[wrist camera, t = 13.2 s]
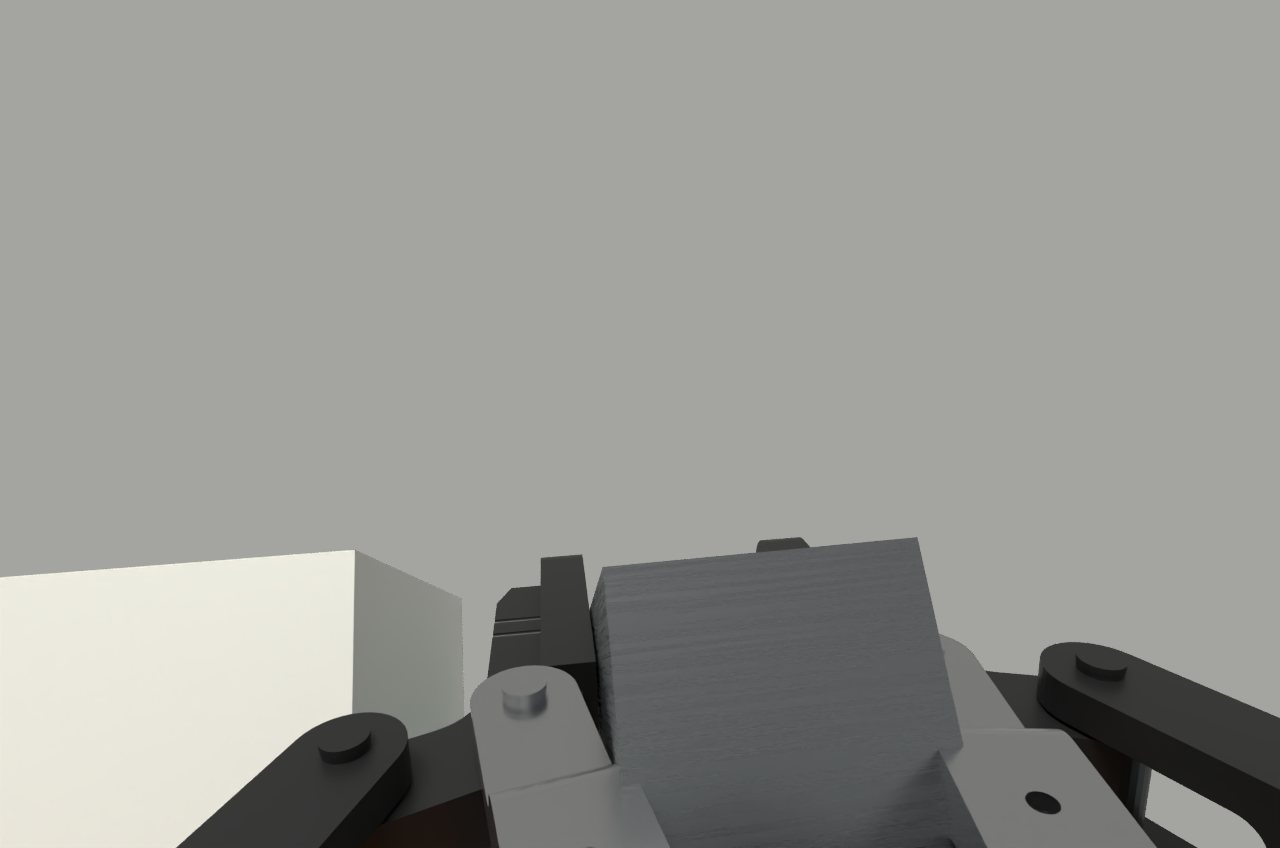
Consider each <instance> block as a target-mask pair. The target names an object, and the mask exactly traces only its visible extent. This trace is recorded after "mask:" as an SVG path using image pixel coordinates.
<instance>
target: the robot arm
mask: <svg viewBox="0 0 1280 848" xmlns="http://www.w3.org/2000/svg"><path fill="white" fill-rule="evenodd" d="M800 548H810V547H809V545H808V544H807V543H806V542H805V541H804V540H803V539H802V538H800V537H798V538H785V539H773V540H762V541H759V543H758V545H757V550H756V553H758V552H769V551H779V550H790V549H800ZM939 637H940V642H941V646H942V651H943V655H944V660H945V664H946V669H947V673H948V678H949V682H950V687H951V691H952V695H953V700H954V704H955V709H956V713H957V718H958V722H959V727H960V731H961V736H962V740H963V745H964V746H962V747H953V748H945V749H939V758H940V767H941V776H942V784H943V793H944V802H945V811H946V820H947V829H948V838H949V839H950V840H951V841H952V842H953V843H954V845H955V846H956V848H1197V847H1195V846H1193V845H1192V844H1190V843H1188V842H1186V841H1185V840H1183V839H1181V838H1180V837H1178V836H1176V835H1175V834H1173V833H1171V832H1170V831H1168V830H1166V829H1164V828H1163V827H1161V826H1159V825H1158V824H1155V823H1154V822H1153V821H1151V820H1149V819H1148V818H1146V817H1145V810H1146V804H1147V798H1148V791H1149V784H1150V778H1151V770H1152V769H1153V770H1155V771H1157V772H1159V773H1161V774H1163V775H1164V776H1166V777H1168V778H1170V779H1172V780H1174V781H1176V782H1177V783H1179V784H1181V785H1183V786H1185V787H1187V788H1189V789H1191V790H1192V791H1194V792H1196V793H1198V794H1200V795H1202V796H1204V797H1205V798H1207V799H1209V800H1211V801H1213V802H1215V803H1217V804H1219V805H1221V806H1222V807H1224V808H1226V809H1228V810H1230V811H1232V812H1234V813H1235V814H1237V815H1239V816H1240V817H1241V818H1243V819H1244V820H1245V821H1247V822H1248V823H1249V824H1250V825H1251V826H1252V827H1253V828H1254V829H1255V830H1256V832H1257V833H1258V834H1259V835H1260V837H1261V838H1262V840H1263V842H1264V843H1265V845H1266V848H1280V718H1278V717H1276V716H1274V715H1271V714H1269V713H1267V712H1264V711H1262V710H1259V709H1257V708H1255V707H1252V706H1250V705H1248V704H1245V703H1243V702H1240V701H1238V700H1236V699H1233V698H1231V697H1229V696H1226V695H1224V694H1221V693H1219V692H1217V691H1215V690H1212V689H1210V688H1208V687H1205V686H1203V685H1200V684H1198V683H1195V682H1193V681H1191V680H1189V679H1186V678H1184V677H1182V676H1179V675H1177V674H1174V673H1172V672H1169V671H1167V670H1165V669H1163V668H1160V667H1158V666H1156V665H1153V664H1151V663H1148V662H1146V661H1144V660H1141V659H1139V658H1137V657H1134V656H1132V655H1129V654H1127V653H1124V652H1122V651H1119V650H1116V649H1113V648H1109V647H1105V646H1101V645H1096V644H1090V643H1080V642H1067V643H1059V644H1054V645H1052V646H1049V647H1047V648H1046V649H1044V651H1043V652H1042V653H1041V656H1040V663H1039V673H1038V676H1033V675H1021V674H1010V673H999V672H990V671H985V670H984V669H983V667H982V666H981V664H980V663H979V661H978V660H977V659H976V657H975V656H974V654H973V653H972V652H971V651H970V650H969V649H968V648H967V647H965V646H964V645H963V644H961V643H959V642H958V641H955V640H954V639H951V638H949V637H946V636H944V635H941V634H939ZM470 708H471V712H470V713H469V714H468V715H466V716H465V717H463V718H462V719H460V720H458V721H457V722H455V723H453V724H451V725H449V726H446V727H444V728H441V729H438V730H436V731H433V732H429V733H426V734H423V735H420V736H417V737H413V738H410V739H408V733H407V729H406V727H405V725H404V724H403V723H402V722H401V721H400V720H398V719H397V718H395V717H393V716H391V715H387V714H383V713H375V712H363V713H355V714H349V715H345V716H341V717H338V718H334V719H331V720H329V721H326V722H324V723H322V724H320V725H318V726H316V727H314V728H312V729H310V730H309V731H307V732H306V733H304V734H303V735H302V736H300V737H299V738H298V739H297V740H295V741H294V742H293V743H292V744H291V745H290V746H289V747H288V748H286V749H285V750H284V751H283V752H282V753H281V754H280V755H279V756H278V757H276V758H275V759H274V760H273V761H272V762H271V763H270V764H269V765H268V766H266V767H265V768H264V769H263V770H262V771H261V772H260V773H259V774H258V775H256V776H255V777H254V778H253V779H252V780H251V781H250V782H249V783H247V784H246V785H245V786H244V787H243V788H242V789H241V790H240V791H239V792H237V793H236V794H235V795H234V796H233V797H232V798H231V799H230V800H229V801H227V802H226V803H225V804H224V805H223V806H222V807H221V808H220V809H219V810H217V811H216V812H215V813H214V814H213V815H212V816H211V817H210V818H208V819H207V820H206V821H205V822H204V823H203V824H202V825H201V826H200V827H198V828H197V829H196V830H195V831H194V832H193V833H192V834H191V835H190V836H188V837H187V838H186V839H185V840H184V841H183V842H182V843H181V844H180V845H178V846H177V847H176V848H670V846H669V844H668V842H667V840H666V837H665V835H664V833H663V831H662V829H661V827H660V825H659V823H658V820H657V818H656V816H655V814H654V812H653V810H652V808H651V806H650V803H649V801H648V799H647V797H646V795H645V793H644V791H643V788H642V786H641V784H638V785H629V786H622V780H621V774H620V768H619V764H618V763H614V764H612V763H611V761H610V759H609V756H608V754H607V752H606V749H605V747H604V745H603V743H602V740H601V738H600V733H599V714H598V694H597V675H596V659H595V651H594V643H593V635H592V627H591V620H590V612H589V604H588V597H587V589H586V580H585V573H584V565H583V558H582V555H571V556H559V557H546V558H541V586H532V587H520V588H511V589H510V590H509V591H508V592H507V594H506V595H505V596H504V597H503V598H502V599H501V600H500V601H499V602H498V604H497V608H496V616H495V624H494V631H493V639H492V647H491V655H490V663H489V670H488V677H487V679H486V680H485V681H484V682H482V683H481V684H480V685H479V686H478V687H477V688H476V689H475V691H474V693H473V695H472V697H471V700H470Z"/></svg>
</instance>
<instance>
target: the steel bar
mask: <svg viewBox="0 0 1280 848" xmlns="http://www.w3.org/2000/svg"><path fill="white" fill-rule="evenodd" d="M589 612H590V620H591V627H592V635H593V643H594V651H595V659H596V675H597V694H598V714H599V733H600V738H601V740H602V743H603V745H604V747H605V749H606V752H607V754H608V756H609V759H610V761H611V763H612V764H614V763H618V764H619V768H620V774H621V780H622V786H629V785H638V784H641V786H642V788H643V791H644V793H645V795H646V797H647V799H648V801H649V803H650V806H651V808H652V810H653V812H654V814H655V816H656V818H657V820H658V823H659V825H660V827H661V829H662V831H663V833H664V835H665V837H666V840H667V842H668V844H669V846H670V848H956V846H955V845H954V843H953V842H952V841H951V840H950V839H949V838H948V829H947V820H946V811H945V802H944V793H943V784H942V776H941V767H940V758H939V749H945V748H953V747H962V746H964V745H963V740H962V736H961V731H960V727H959V722H958V718H957V713H956V709H955V704H954V700H953V695H952V691H951V687H950V682H949V678H948V673H947V669H946V664H945V660H944V655H943V651H942V646H941V642H940V637H939V633H938V628H937V624H936V619H935V615H934V611H933V606H932V601H931V597H930V593H929V588H928V584H927V579H926V575H925V570H924V566H923V561H922V557H921V552H920V548H919V543H918V539H917V537H916V538H906V539H895V540H886V541H885V540H884V541H874V542H864V543H853V544H843V545H832V546H821V547H811V548H800V549H790V550H779V551H769V552H758V553H748V554H737V555H727V556H716V557H705V558H695V559H684V560H674V561H664V562H653V563H643V564H632V565H621V566H611V567H603V568H602V572H601V575H600V579H599V582H598V585H597V588H596V591H595V594H594V597H593V601H592V604H591V607H590V610H589Z"/></svg>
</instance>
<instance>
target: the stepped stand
mask: <svg viewBox="0 0 1280 848" xmlns="http://www.w3.org/2000/svg"><path fill="white" fill-rule="evenodd" d="M463 688H464V687H463V645H462V605H461V598H459V597H457V596H455V595H452V594H450V593H448V592H446V591H444V590H441V589H439V588H437V587H435V586H433V585H431V584H428V583H426V582H424V581H422V580H419V579H417V578H415V577H413V576H411V575H408V574H406V573H404V572H402V571H400V570H398V569H395V568H393V567H391V566H389V565H387V564H385V563H382V562H380V561H378V560H376V559H374V558H371V557H369V556H367V555H365V554H363V553H360V552H358V551H356V550H348V551H334V552H322V553H309V554H296V555H283V556H271V557H258V558H245V559H232V560H219V561H206V562H193V563H180V564H167V565H154V566H142V567H129V568H116V569H103V570H90V571H77V572H65V573H51V574H39V575H26V576H14V577H0V848H176V847H177V846H178V845H180V844H181V843H182V842H183V841H184V840H185V839H186V838H187V837H188V836H190V835H191V834H192V833H193V832H194V831H195V830H196V829H197V828H198V827H200V826H201V825H202V824H203V823H204V822H205V821H206V820H207V819H208V818H210V817H211V816H212V815H213V814H214V813H215V812H216V811H217V810H219V809H220V808H221V807H222V806H223V805H224V804H225V803H226V802H227V801H229V800H230V799H231V798H232V797H233V796H234V795H235V794H236V793H237V792H239V791H240V790H241V789H242V788H243V787H244V786H245V785H246V784H247V783H249V782H250V781H251V780H252V779H253V778H254V777H255V776H256V775H258V774H259V773H260V772H261V771H262V770H263V769H264V768H265V767H266V766H268V765H269V764H270V763H271V762H272V761H273V760H274V759H275V758H276V757H278V756H279V755H280V754H281V753H282V752H283V751H284V750H285V749H286V748H288V747H289V746H290V745H291V744H292V743H293V742H294V741H295V740H297V739H298V738H299V737H300V736H302V735H303V734H304V733H306V732H307V731H309V730H310V729H312V728H314V727H316V726H318V725H320V724H322V723H324V722H326V721H329V720H331V719H334V718H338V717H341V716H345V715H349V714H355V713H363V712H375V713H383V714H387V715H391V716H393V717H395V718H397V719H398V720H400V721H401V722H402V723H403V724H404V725H405V727H406V729H407V733H408V739H410V738H413V737H417V736H420V735H423V734H426V733H429V732H433V731H436V730H438V729H441V728H444V727H446V726H449V725H451V724H453V723H455V722H457V721H458V720H460V719H462V718H463V717H464V689H463Z"/></svg>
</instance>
